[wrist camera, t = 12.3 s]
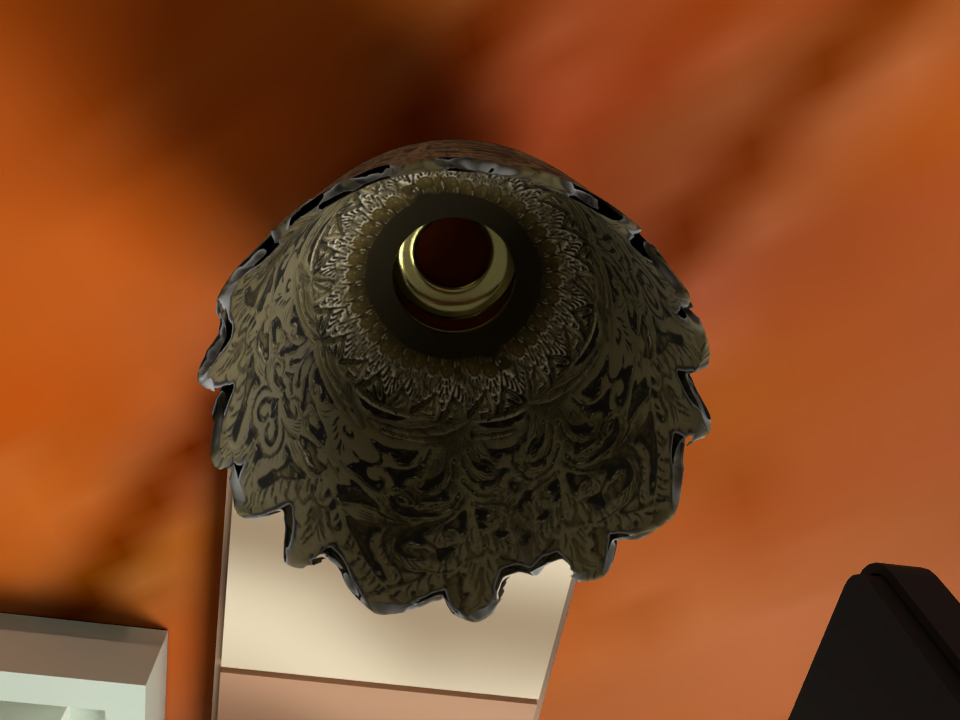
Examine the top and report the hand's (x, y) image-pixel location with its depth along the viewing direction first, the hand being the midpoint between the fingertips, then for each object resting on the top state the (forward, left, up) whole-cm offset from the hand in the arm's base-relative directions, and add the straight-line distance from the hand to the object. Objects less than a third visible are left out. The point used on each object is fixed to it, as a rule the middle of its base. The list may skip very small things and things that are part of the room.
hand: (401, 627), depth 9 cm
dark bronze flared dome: (0, +1, -12) cm, 12 cm away
